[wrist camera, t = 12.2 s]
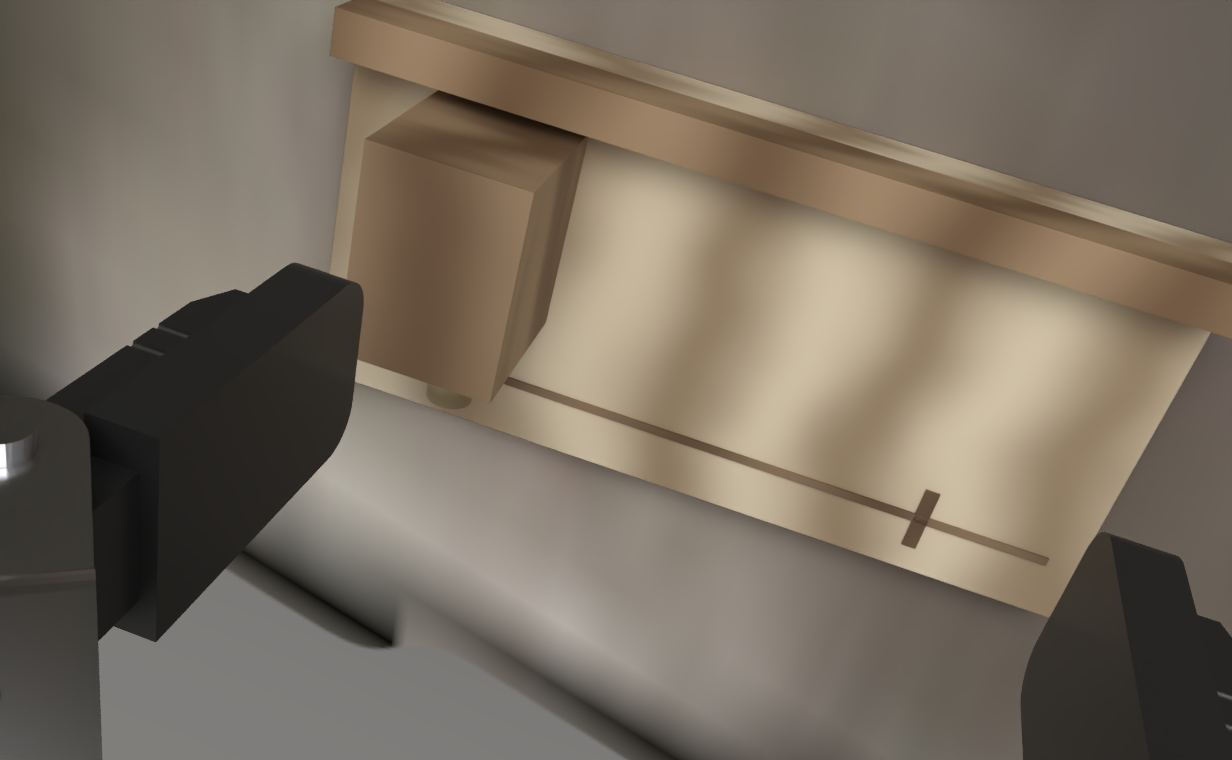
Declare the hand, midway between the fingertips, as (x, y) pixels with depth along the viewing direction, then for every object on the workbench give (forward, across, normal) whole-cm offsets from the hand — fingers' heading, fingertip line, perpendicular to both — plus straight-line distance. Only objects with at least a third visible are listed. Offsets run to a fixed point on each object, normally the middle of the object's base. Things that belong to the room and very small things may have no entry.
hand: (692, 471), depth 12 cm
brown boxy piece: (+25, +10, +10) cm, 29 cm away
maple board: (+27, +2, +10) cm, 29 cm away
